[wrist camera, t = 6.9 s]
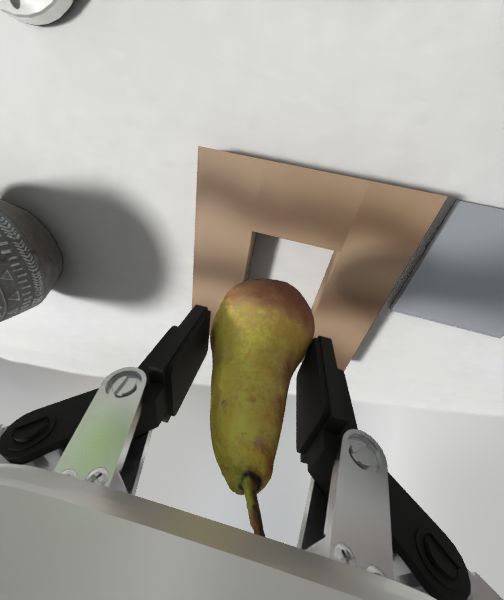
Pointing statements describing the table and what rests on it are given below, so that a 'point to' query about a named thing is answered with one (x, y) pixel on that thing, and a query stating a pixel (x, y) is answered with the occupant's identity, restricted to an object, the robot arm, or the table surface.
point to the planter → (25, 261)
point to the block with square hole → (307, 235)
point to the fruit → (254, 380)
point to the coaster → (460, 273)
